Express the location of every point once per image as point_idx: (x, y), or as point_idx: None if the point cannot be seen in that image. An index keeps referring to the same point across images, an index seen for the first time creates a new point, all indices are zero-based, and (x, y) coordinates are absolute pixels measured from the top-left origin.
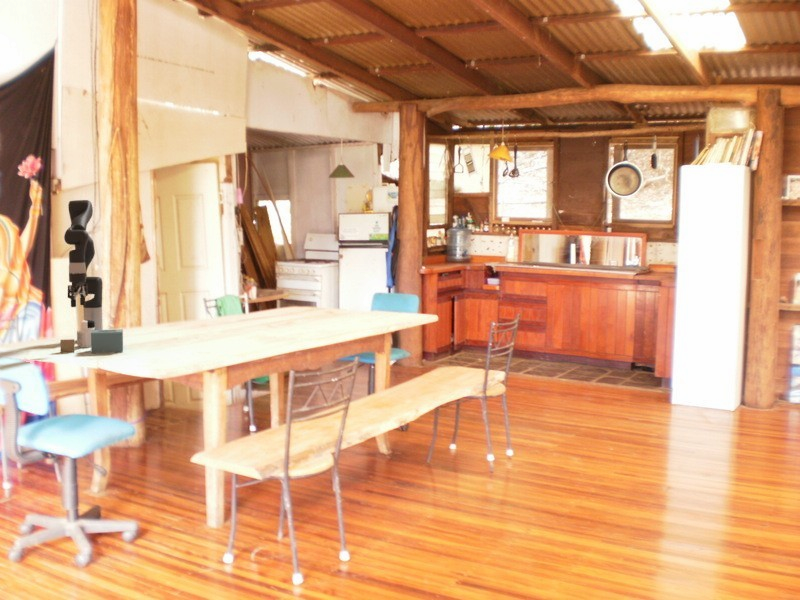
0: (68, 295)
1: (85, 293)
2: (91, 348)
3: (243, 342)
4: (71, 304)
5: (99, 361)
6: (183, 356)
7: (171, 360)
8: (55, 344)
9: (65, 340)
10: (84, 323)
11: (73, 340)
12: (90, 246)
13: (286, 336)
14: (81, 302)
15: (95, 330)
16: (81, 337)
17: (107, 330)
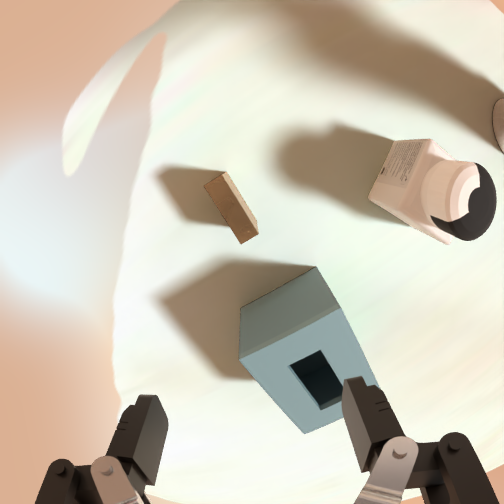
0: (50, 484)
1: (433, 483)
2: (241, 318)
3: None
4: (123, 420)
5: (126, 396)
6: (272, 483)
7: (218, 483)
8: (396, 38)
9: (218, 207)
10: (442, 203)
11: (239, 241)
12: None
13: (493, 447)
14: (350, 408)
15: (329, 330)
16: (397, 176)
17: (339, 374)
